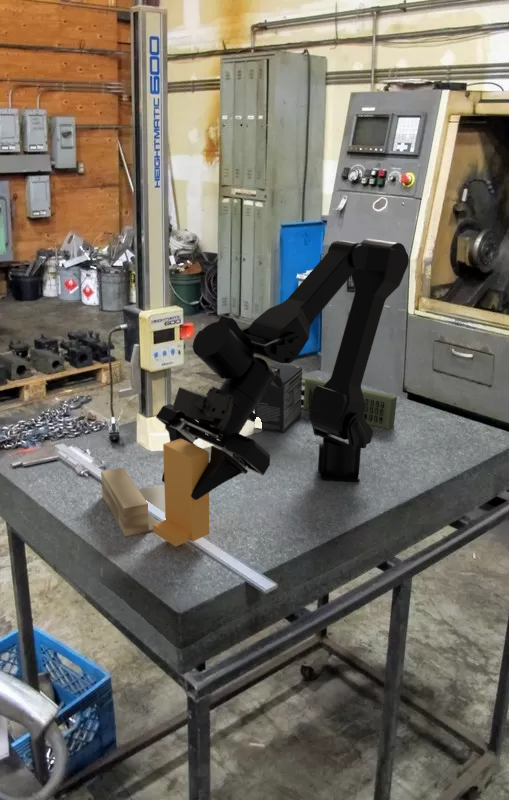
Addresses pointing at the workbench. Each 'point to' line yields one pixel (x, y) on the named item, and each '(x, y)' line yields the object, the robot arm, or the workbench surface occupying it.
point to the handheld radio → (376, 404)
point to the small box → (281, 400)
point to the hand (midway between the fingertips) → (178, 490)
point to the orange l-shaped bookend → (183, 493)
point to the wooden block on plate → (130, 501)
